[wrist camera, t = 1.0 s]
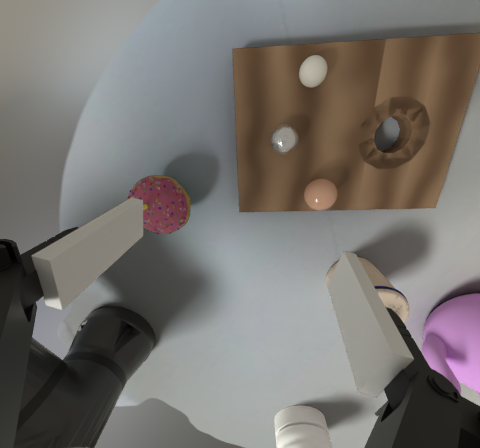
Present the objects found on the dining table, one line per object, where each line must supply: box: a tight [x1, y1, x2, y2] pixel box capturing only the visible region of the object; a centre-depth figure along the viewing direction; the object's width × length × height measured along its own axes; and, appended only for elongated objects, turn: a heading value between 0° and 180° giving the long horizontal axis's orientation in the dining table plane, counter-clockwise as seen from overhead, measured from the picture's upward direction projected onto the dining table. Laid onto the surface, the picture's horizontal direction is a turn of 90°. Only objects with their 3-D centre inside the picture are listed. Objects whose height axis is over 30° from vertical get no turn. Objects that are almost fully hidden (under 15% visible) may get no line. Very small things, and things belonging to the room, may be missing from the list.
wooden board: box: [233, 33, 480, 212], centre depth 30 cm, size 28×20×2 cm
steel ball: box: [270, 124, 299, 155], centre depth 27 cm, size 4×4×4 cm
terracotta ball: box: [304, 178, 338, 210], centre depth 30 cm, size 4×4×4 cm
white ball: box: [299, 55, 327, 88], centre depth 25 cm, size 3×3×3 cm
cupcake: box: [128, 175, 191, 234], centre depth 30 cm, size 9×8×12 cm
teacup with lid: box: [326, 257, 409, 323], centre depth 35 cm, size 12×9×12 cm
